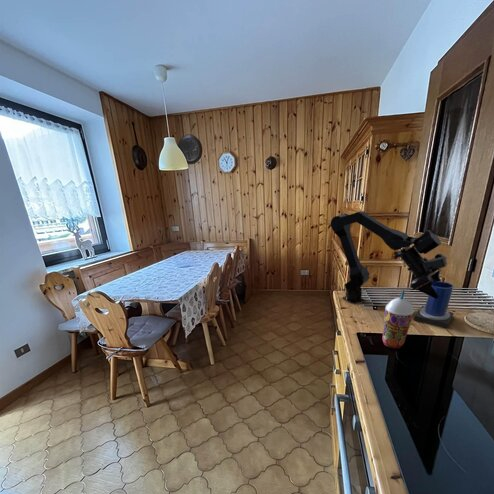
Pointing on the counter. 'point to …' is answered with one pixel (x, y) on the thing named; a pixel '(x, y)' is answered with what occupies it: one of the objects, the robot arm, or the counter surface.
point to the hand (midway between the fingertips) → (440, 294)
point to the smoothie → (397, 321)
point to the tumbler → (439, 299)
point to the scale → (433, 318)
